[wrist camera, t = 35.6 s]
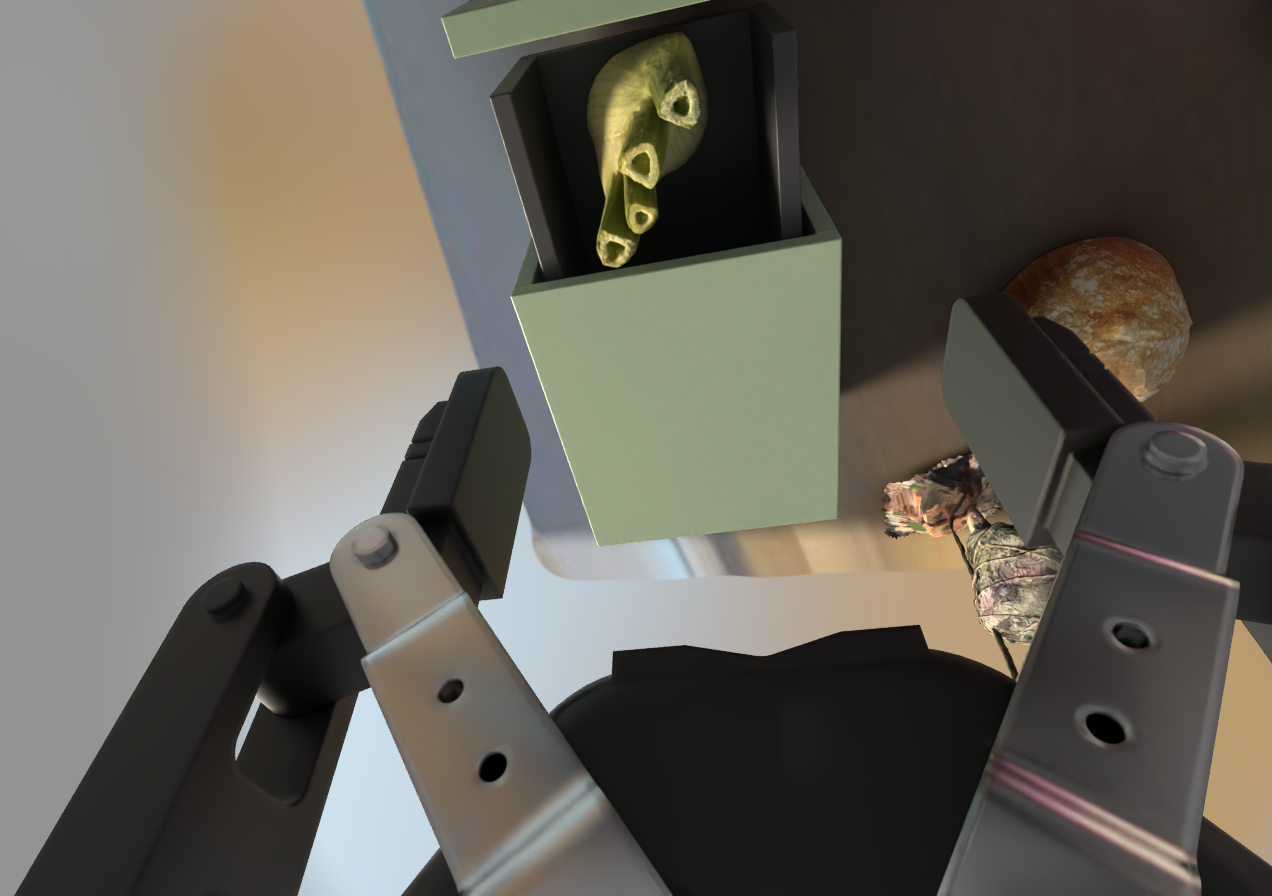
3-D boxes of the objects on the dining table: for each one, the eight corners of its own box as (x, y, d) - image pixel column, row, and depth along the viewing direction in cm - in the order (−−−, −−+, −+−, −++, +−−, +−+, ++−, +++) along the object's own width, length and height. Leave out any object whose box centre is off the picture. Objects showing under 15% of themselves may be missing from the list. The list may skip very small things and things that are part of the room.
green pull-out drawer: (435, -195, 23) (360, -227, 17) (770, -291, 21) (817, -363, 15) (575, 303, 36) (560, 384, 30) (792, 266, 34) (822, 344, 28)
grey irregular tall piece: (1026, 522, 48) (1202, 812, 33) (870, 534, 49) (970, 821, 34) (1057, 438, 43) (1283, 738, 27) (881, 455, 44) (1005, 751, 29)
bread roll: (1120, 307, 40) (1267, 331, 33) (1007, 435, 41) (1126, 485, 34) (1047, 198, 36) (1199, 199, 29) (924, 344, 37) (1040, 380, 30)
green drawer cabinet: (540, 208, 33) (509, 296, 26) (797, 159, 31) (842, 238, 24) (606, 437, 43) (597, 547, 36) (805, 409, 41) (838, 519, 34)
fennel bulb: (668, -4, 26) (678, 51, 17) (735, 104, 28) (776, 202, 19) (561, 97, 28) (518, 194, 19) (632, 188, 31) (624, 311, 21)
